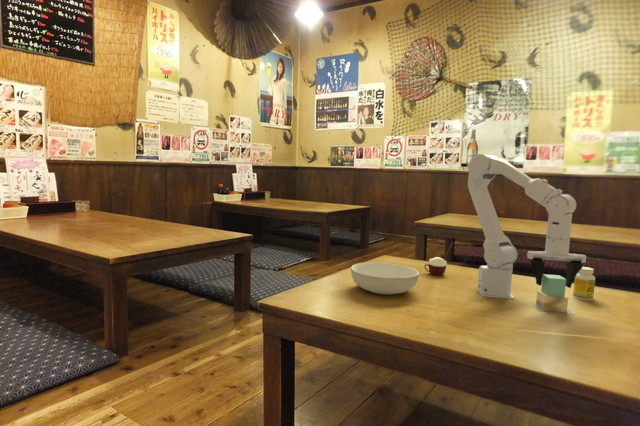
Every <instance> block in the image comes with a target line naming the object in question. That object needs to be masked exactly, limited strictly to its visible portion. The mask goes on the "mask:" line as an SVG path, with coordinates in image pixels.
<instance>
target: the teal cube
mask: <svg viewBox="0 0 640 426" xmlns="http://www.w3.org/2000/svg"><path fill="white" fill-rule="evenodd" d="M566 287H567V286H566V277H564V276H561V275H559V274H546V273H545V274H544V273H542V284H541V286H540V288H541V289H540V290H541V291H542V292H543V293H544V294H545V295H547V296H556V297H565V296H566Z"/></svg>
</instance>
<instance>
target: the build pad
mask: <svg viewBox="0 0 640 426" xmlns="http://www.w3.org/2000/svg"><path fill="white" fill-rule="evenodd" d="M528 302H529V303H530V304H531V305H532V306H533V307H534V308H535V309H536V310H537V311H539V312H541V313H542V312H543V313H550V314H551V313H552V314H562V315H574V316H575V315H576V314H575V313H574V312H572V311H571V309H569V308H567V312H559V311H547V310H543V309H542V308H541V307H539V306H538V305H537V304H536V301H531V300H529V301H528Z"/></svg>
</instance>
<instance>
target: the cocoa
mask: <svg viewBox="0 0 640 426" xmlns="http://www.w3.org/2000/svg"><path fill="white" fill-rule="evenodd" d="M453 245H454V242H451V243H450V245H449V247H448V248H447V249H448V250H447V252H446V253H445V255H444V258H442V257H438V256H435V257H433V258H432V257H431V258H429V260H428V264H427V263H426V264H424V266H423V267H424V269H425V270H426V271H427V272H428V273H430V274H431V275H433V276H442V275H444V274H445V273H446V270H447V259H448V258H447V257H448V256H449V254H450V252H451V250H452V247H453ZM426 266H428V269H427V268H426Z"/></svg>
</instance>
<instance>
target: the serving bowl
mask: <svg viewBox="0 0 640 426" xmlns="http://www.w3.org/2000/svg"><path fill="white" fill-rule="evenodd" d="M350 273H351V277H352V280H353V282H354V283H355V284H356V285H357V286H359V287H360V288H362V289H363V290H365V291H367V292H368V291H369V292H371V293H373V294H378V295H389V296H390V295H396V294H397V295H398V294H402V293H406V292H408V291H410V290H412V288H414V286H416V284H417V282H418V280H419V278H420V277H419V276H420V272H419V270H417V269H416V268H413V267H410V266H406V265H402V264H397V263H393V262H392V263H391V262H378V261H376V262H374V261H373V262H370V261H369V262H359V263H355V264H353V265H352V266H351V267H350Z"/></svg>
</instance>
